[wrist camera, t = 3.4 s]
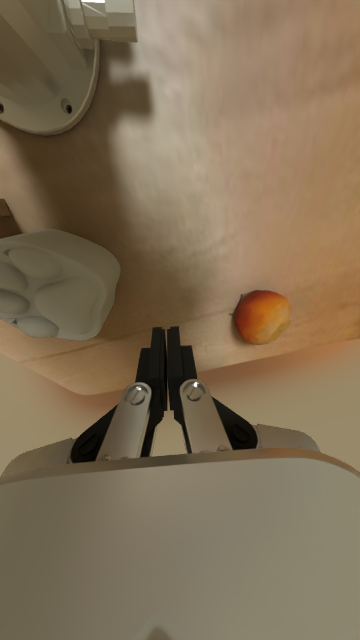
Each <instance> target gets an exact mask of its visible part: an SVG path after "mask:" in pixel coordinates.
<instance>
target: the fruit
mask: <svg viewBox="0 0 360 640" xmlns="http://www.w3.org/2000/svg"><path fill="white" fill-rule="evenodd" d="M241 296H242V297H241V300H240V302H239V304H238V306H237V309H236V311H235V312H234V313H233V314H231V315H234V320H235V325H236V327H237V330H238V332H239V334H240V335H241V337H242V338H243V339H244V340H245V341H247V342H249V343H251V344H256V345H263V344H268V343H271V342H272V341H274V340H276V339H277V338H278V337H279V336H280V335H281V334H282V333H283V332H285V331H286V329H287V328H288V326H289V324H290V318H291V304H290V302H289V300H288V299H287V298H285V297H283V296H282V295H280V294H278V293H275V292H271V291H261V290H255V291H252V292H249V293H247V294H241Z"/></svg>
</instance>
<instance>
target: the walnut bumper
mask: <svg viewBox="0 0 360 640" xmlns="http://www.w3.org/2000/svg"><path fill="white" fill-rule="evenodd" d="M9 215H11V213H10V211H9V209H8V207H7V205H6V203H5V201H4V199H0V216H9Z"/></svg>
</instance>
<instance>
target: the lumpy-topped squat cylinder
mask: <svg viewBox="0 0 360 640" xmlns="http://www.w3.org/2000/svg"><path fill="white" fill-rule="evenodd" d="M120 274H121V267H120V264H119V262H118V260H117V259H116V258H115V256H114V255H113V254H112V253H111V252H110V251H108V250H107V249H105V248H104V247H102V246H100V245H98V244H95V243H93V242H91V241H89V240H87V239H84V238H82V237H79V236H77V235H74V234H71V233H68V232H64V231H61V230H56V229H43V230H37V231H32V232H28V233H24V234H19V235H15V236H10V237H6V238H1V239H0V318H1V319H3V320H4V321H6V322H8V323H10V324H12V325H13V326H15V327H18V328H19V329H20V330H21V331H22V332H23V333H24V334H26V335H28V336H30V337H34V338H46V337H55V338H62V339H67V340H75V341H84V340H88V339H91V338H93V337H95V336H96V335H97V334H98V333H99V332H100V330H101V328H102V326H103V324H104V322H105V320H106V318H107V316H108V314H109V312H110V310H111V308H112V306H113V304H114V301H115V289H116V285H117V282H118V280H119V278H120Z"/></svg>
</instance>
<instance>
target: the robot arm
mask: <svg viewBox="0 0 360 640" xmlns="http://www.w3.org/2000/svg"><path fill="white" fill-rule="evenodd" d="M99 39H108V40H112V41H113V42H138V37H137V25H136V14H135V5H134V0H0V120H1V121H3V122H5V123H7V124H9V125H11V126H13V127H15V128H17V129H20V130H23V131H25V132H28V133H31V134H36V135H44V136H49V135H56V134H61V133H63V132H65V131H67V130H69V129H71V128H72V127H74V126H75V125H76V124H77V123H78V122H79V121H80V120H81V119H82V118H83V116H84V115H85V113H86V112H87V110H88V109H89V107H90V104H91V101H92V99H93V96H94V94H95V90H96V85H97V80H98V75H99V62H100V41H99ZM3 107H4V111H3ZM69 107H72V112H71V114H69V112H68V109H69ZM167 376H168V389H169V401H170V410H174V419H175V420H176V421H178V422H179V424H181V430H182V434H183V439H184V444H185V449H186V454H179V455H167V456H155V457H152V453H153V447H154V442H155V437H156V431H157V425H158V424H159V423H160V422H161V421H162V418H163V417H164V411H167ZM0 640H360V472H359V471H357V470H356V469H355V468H353V467H352V466H350V465H348V464H346V463H344V462H342V461H340V460H338V459H336V458H334V457H331V456H328V455H326V454H323V453H321V452H320V449H319V447H318V446H317V444H316V442H315V441H314V440H313V439H312V438H311V437H310V436H308V435H307V434H305V433H303V432H300V431H297V430H291V429H285V428H279V427H273V426H267V425H262V424H257V426H256V425H251V424H250V423H249V422H247V421H246V420H245V419H243V418H242V417H240V416H239V415H237V414H236V413H235V412H233V411H232V410H230V409H229V408H228V407H226V406H225V405H223V404H222V403H220V402H219V401H218V400H216V399H215V398H213V397H212V396H211V394H210V392H209V389H208V387H207V386H206V384H205V383H203V382H202V381H200V380H197V374H196V369H195V363H194V357H193V351H192V346H180V336H179V326H175V327H170V329H167V351H166V339H165V329H162V328H161V327H155V328H153V331H152V340H151V348H142V349H141V353H140V358H139V364H138V369H137V375H136V381H135V383H134V384H131V385H130V386H128V387H127V388H126V389H125V390H124V392H123V394H122V396H121V399H120V401H119V403H118V405H116V406H115V407H114V408H113V409H112V410H110V411H109V412H108V413H107V414H106V415H104V416H103V417H102V418H100V419H99V420H98V421H97V422H96V423H94V424H93V425H92V426H91V427H89V428H88V429H87V430H86V431H85V432H83V433H82V434H81V435H80V436H79V437H78V438H76V439H72V438H69V439H66V440H63V441H59V442H56V443H53V444H50V445H47V446H44V447H40V448H37V449H34V450H31V451H27V452H25V453H22V454H20V455H19V456H17V457H16V458H15V459H14V460H12V461H11V462H10V463H9V464H8V466H7V467H6V468H5V470H4V471H3V473H2V475H1V477H0Z"/></svg>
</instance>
